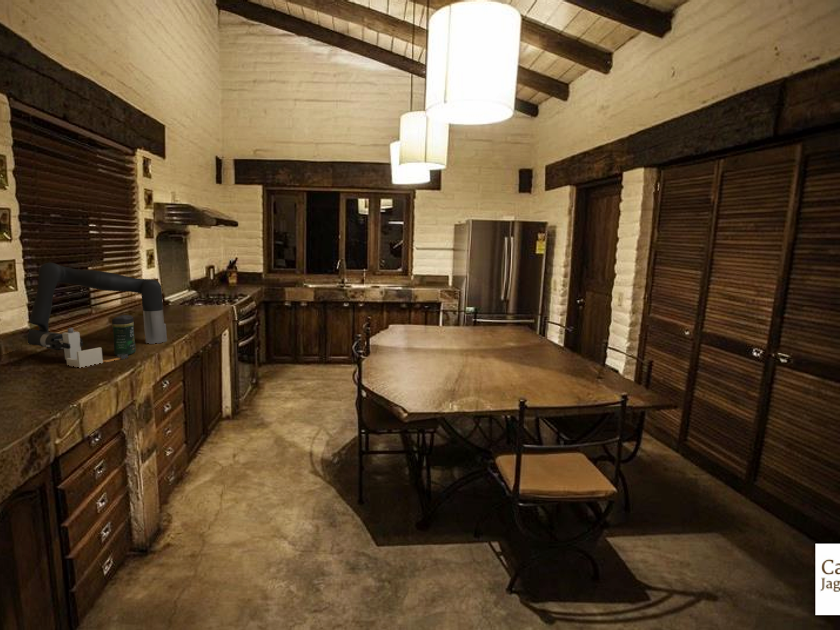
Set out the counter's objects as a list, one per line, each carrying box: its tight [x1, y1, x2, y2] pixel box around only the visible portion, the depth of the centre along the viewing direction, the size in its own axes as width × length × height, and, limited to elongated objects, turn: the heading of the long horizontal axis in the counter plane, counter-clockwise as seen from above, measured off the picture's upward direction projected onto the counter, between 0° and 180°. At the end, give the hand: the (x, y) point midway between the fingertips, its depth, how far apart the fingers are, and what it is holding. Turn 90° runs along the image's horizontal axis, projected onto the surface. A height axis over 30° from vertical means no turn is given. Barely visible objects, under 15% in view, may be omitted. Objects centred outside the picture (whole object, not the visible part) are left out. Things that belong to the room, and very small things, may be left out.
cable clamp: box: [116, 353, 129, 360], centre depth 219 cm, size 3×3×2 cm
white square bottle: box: [61, 327, 82, 360], centre depth 211 cm, size 4×4×14 cm
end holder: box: [65, 347, 104, 369], centre depth 208 cm, size 10×9×7 cm
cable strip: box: [103, 357, 122, 363], centre depth 215 cm, size 10×5×1 cm, turn 154°
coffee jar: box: [111, 314, 137, 356], centre depth 226 cm, size 10×8×19 cm
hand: (75, 345), depth 210 cm, fingers closed on white square bottle, 4 cm apart
